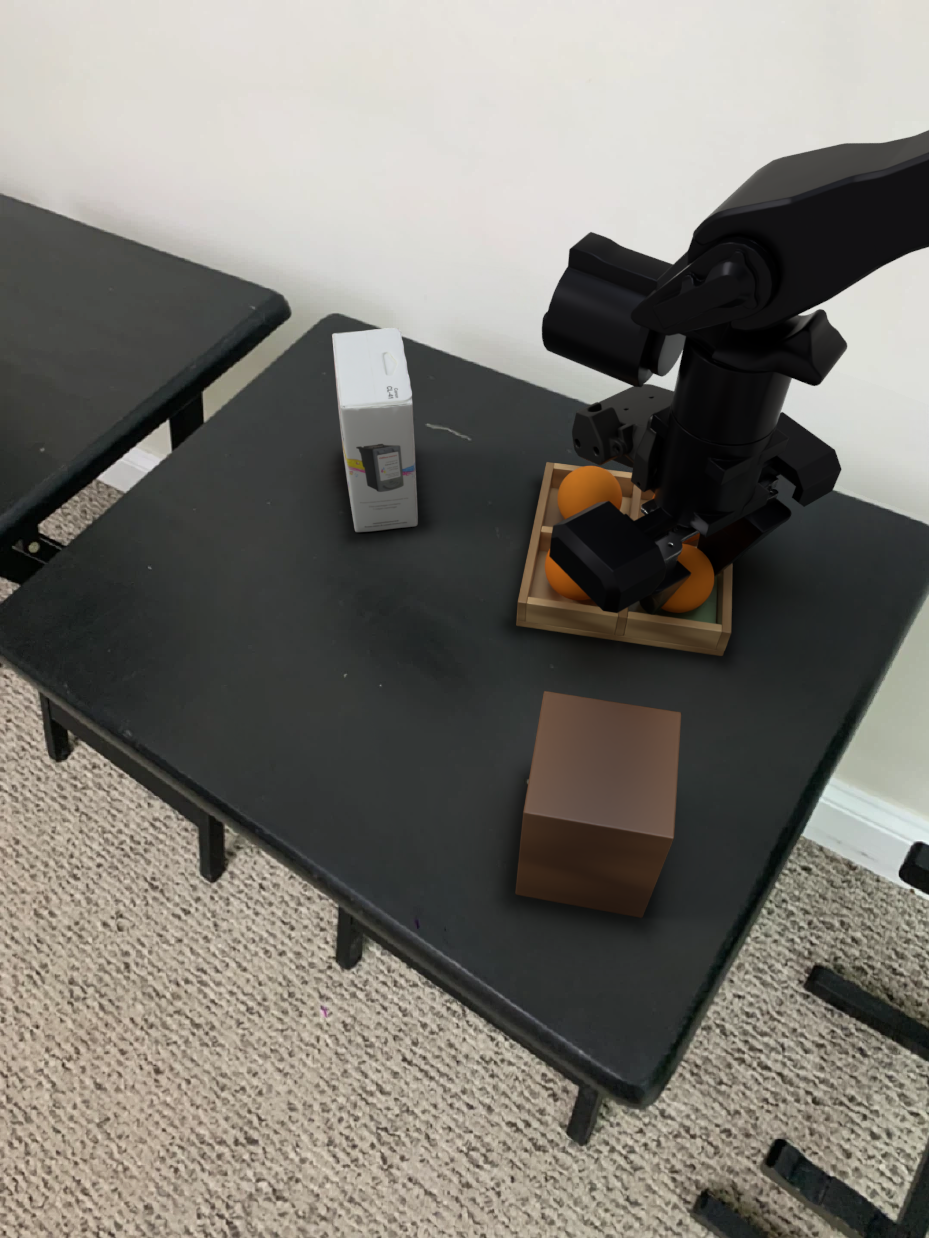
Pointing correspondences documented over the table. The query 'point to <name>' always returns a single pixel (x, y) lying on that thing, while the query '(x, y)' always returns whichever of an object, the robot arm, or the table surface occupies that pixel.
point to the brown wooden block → (599, 803)
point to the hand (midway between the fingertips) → (674, 594)
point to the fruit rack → (633, 624)
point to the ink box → (376, 428)
